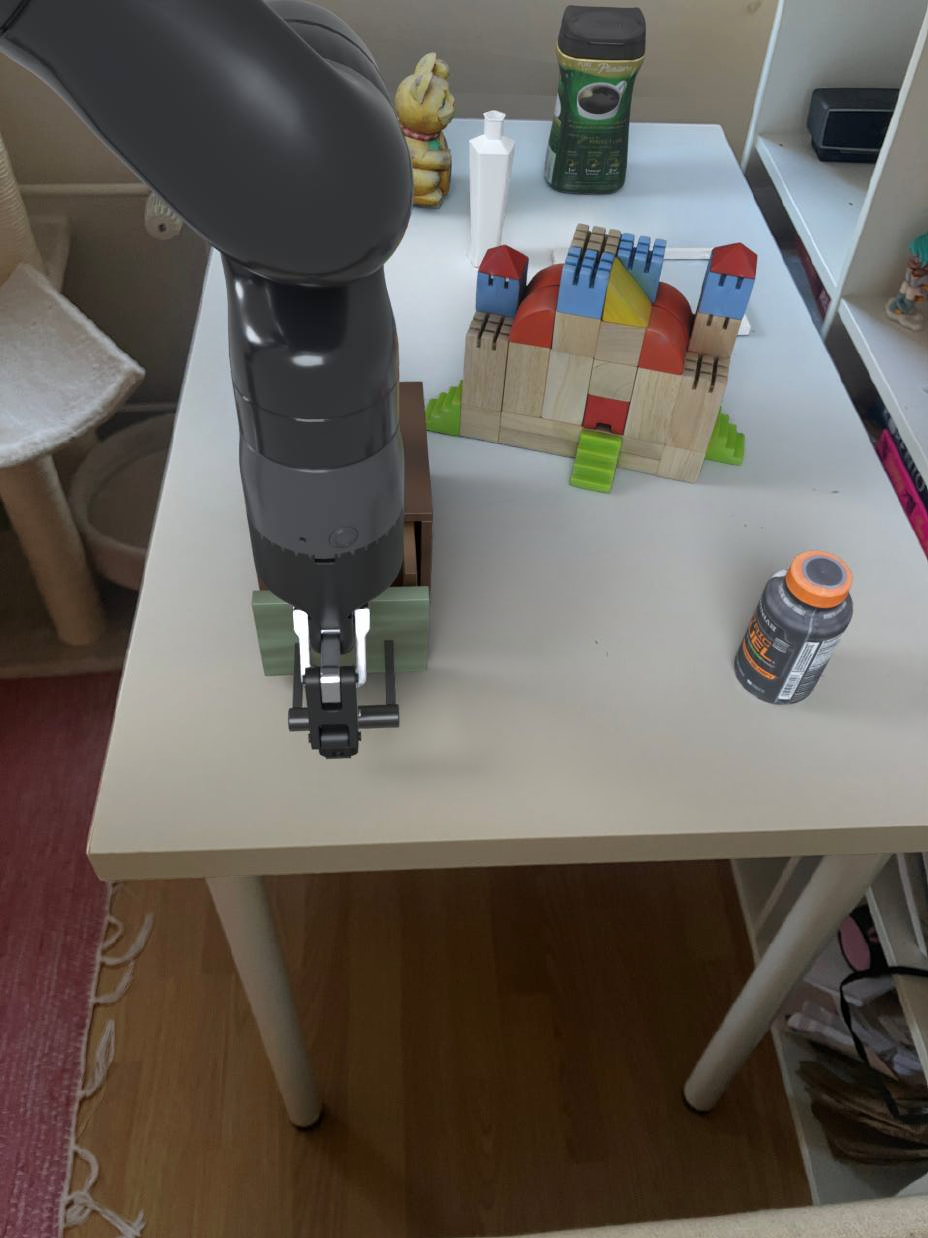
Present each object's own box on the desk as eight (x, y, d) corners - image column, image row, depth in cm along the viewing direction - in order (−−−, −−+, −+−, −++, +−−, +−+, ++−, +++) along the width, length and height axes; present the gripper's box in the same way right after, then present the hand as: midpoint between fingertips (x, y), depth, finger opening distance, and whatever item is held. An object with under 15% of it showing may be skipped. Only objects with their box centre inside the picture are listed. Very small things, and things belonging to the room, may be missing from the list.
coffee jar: (619, 166, 122) (647, -5, 108) (627, 198, 117) (658, 25, 103) (539, 163, 122) (557, -8, 107) (544, 196, 117) (564, 21, 102)
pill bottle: (719, 649, 75) (761, 543, 66) (792, 636, 76) (842, 531, 67) (753, 714, 71) (801, 611, 62) (828, 700, 72) (887, 597, 63)
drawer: (432, 752, 67) (435, 683, 61) (259, 759, 66) (244, 690, 60) (418, 534, 80) (419, 459, 74) (273, 537, 79) (262, 462, 73)
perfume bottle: (513, 266, 107) (526, 122, 95) (475, 272, 106) (483, 128, 94) (498, 244, 109) (509, 102, 98) (460, 250, 108) (466, 106, 97)
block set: (409, 454, 87) (410, 250, 72) (449, 360, 96) (458, 160, 81) (735, 520, 84) (807, 319, 69) (745, 415, 92) (811, 218, 78)
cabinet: (430, 603, 76) (433, 513, 69) (262, 608, 75) (246, 516, 68) (421, 473, 85) (422, 380, 78) (271, 475, 84) (258, 382, 77)
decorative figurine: (451, 220, 112) (456, 79, 101) (377, 216, 112) (374, 74, 100) (452, 177, 118) (457, 40, 107) (382, 174, 118) (380, 36, 106)
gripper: (252, 397, 52) (280, 601, 64) (234, 609, 43) (270, 799, 55) (398, 396, 52) (397, 599, 65) (410, 605, 43) (406, 793, 56)
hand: (339, 690), depth 60 cm, fingers open, 8 cm apart
